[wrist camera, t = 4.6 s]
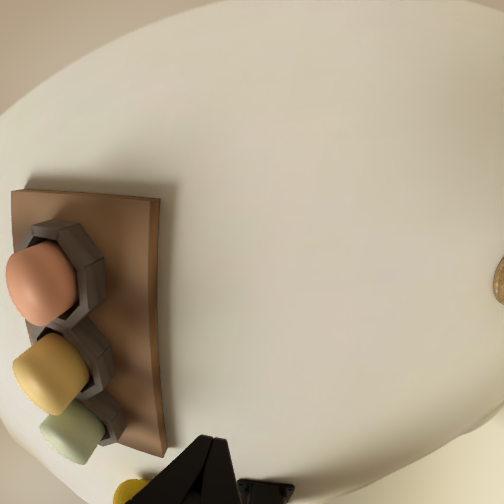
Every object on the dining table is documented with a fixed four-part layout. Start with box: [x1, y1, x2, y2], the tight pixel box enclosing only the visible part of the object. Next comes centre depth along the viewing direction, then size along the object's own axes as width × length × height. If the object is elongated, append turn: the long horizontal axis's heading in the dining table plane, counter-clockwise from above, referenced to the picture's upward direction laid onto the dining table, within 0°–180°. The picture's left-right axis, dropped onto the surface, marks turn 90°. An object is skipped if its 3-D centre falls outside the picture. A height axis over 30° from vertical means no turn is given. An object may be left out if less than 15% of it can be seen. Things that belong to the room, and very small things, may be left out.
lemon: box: [113, 479, 148, 504], centre depth 24 cm, size 6×6×8 cm
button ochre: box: [13, 333, 89, 416], centre depth 17 cm, size 5×5×4 cm
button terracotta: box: [6, 239, 80, 326], centre depth 16 cm, size 5×5×4 cm
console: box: [11, 189, 167, 458], centre depth 20 cm, size 25×14×4 cm, turn 173°
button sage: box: [39, 399, 105, 465], centre depth 18 cm, size 5×5×4 cm
